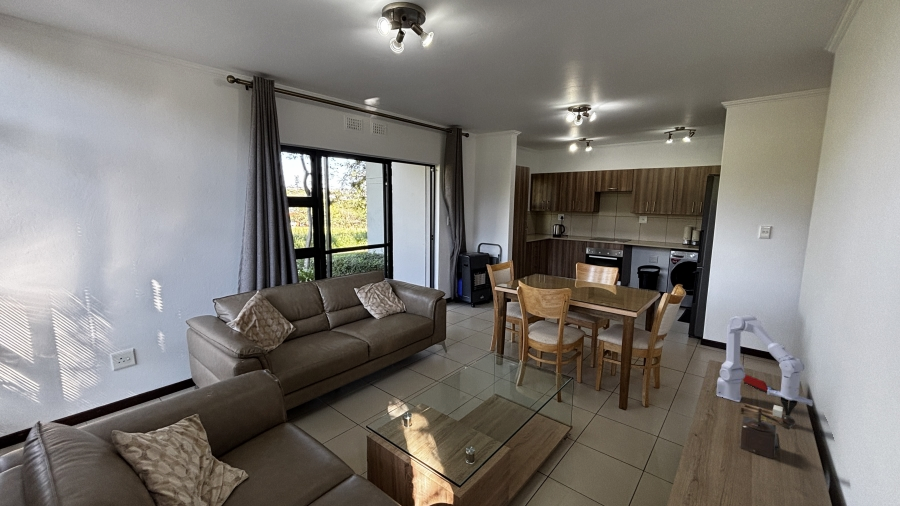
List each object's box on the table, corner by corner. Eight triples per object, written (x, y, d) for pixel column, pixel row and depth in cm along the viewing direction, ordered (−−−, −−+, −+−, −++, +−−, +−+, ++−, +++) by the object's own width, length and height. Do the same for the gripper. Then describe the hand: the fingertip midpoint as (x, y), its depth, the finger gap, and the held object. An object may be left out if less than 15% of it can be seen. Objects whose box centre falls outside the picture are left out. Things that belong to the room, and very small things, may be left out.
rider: (772, 419, 162) (773, 409, 162) (773, 415, 166) (774, 404, 165) (781, 422, 160) (782, 411, 159) (782, 417, 163) (783, 407, 163)
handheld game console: (779, 392, 189) (780, 379, 188) (763, 395, 186) (764, 381, 186) (753, 382, 201) (754, 369, 201) (738, 385, 198) (739, 372, 198)
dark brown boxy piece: (739, 448, 144) (741, 406, 143) (741, 436, 152) (744, 395, 151) (792, 466, 134) (796, 420, 132) (792, 452, 142) (795, 408, 140)
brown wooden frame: (740, 413, 170) (741, 407, 169) (742, 408, 174) (743, 402, 174) (787, 427, 158) (787, 421, 158) (788, 421, 163) (788, 415, 162)
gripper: (767, 383, 161) (765, 412, 162) (813, 394, 151) (810, 425, 152) (768, 378, 166) (766, 406, 167) (813, 388, 156) (810, 418, 157)
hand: (787, 415), depth 160 cm, fingers closed
